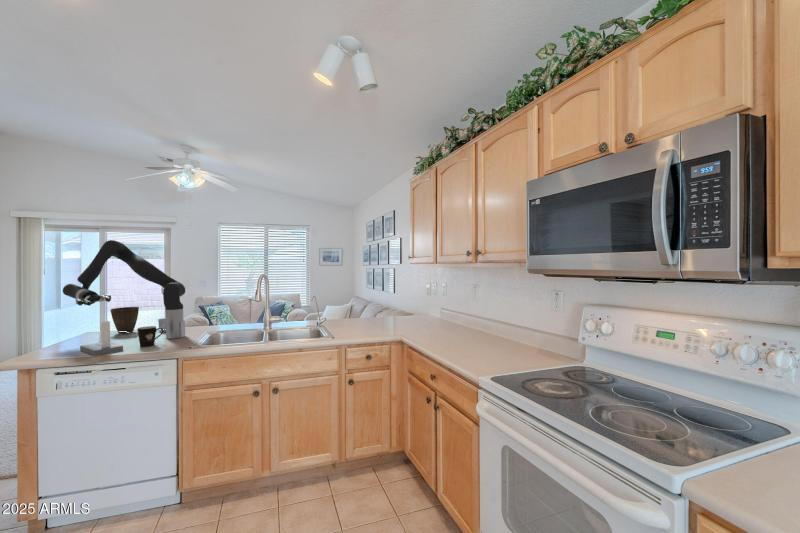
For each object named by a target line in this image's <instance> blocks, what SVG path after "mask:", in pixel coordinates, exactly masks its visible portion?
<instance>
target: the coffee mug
mask: <svg viewBox="0 0 800 533" xmlns="http://www.w3.org/2000/svg"><path fill="white" fill-rule="evenodd" d="M159 329H161V330H162V332H160V334H159V335H157V336H156V333H157V331H159ZM136 330H137V334H138V341H139V347H140V348H148V347H154V346H155V340H157V339H158V338H159V337H161V335H163V334H164V332H163V329H162V328H159V327H158V328H157V326H155V325H153V326H152V325H150V326H149V325H148V326H140V327H137V328H136Z"/></svg>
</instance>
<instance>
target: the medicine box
mask: <svg viewBox="0 0 800 533" xmlns="http://www.w3.org/2000/svg"><path fill="white" fill-rule="evenodd" d="M158 328H162V329H164V330H163V333H166V330H165V329H166V317H163V318H158ZM159 331H160V332H159ZM158 332H159V333H162V330H159V329H158Z"/></svg>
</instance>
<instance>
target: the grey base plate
mask: <svg viewBox="0 0 800 533" xmlns="http://www.w3.org/2000/svg"><path fill="white" fill-rule="evenodd" d="M79 350H80V351H81V352H84V353H85V352H86V353H85V354H88V353H89V354H88V355H91V356H94V357H95V356H102V355H107V354H112V352H113V353H118V352H123V351H124V345H122V344H119V343H114V342H112V341H110V347H105V348H102V347H101V342H96V343H89V344H84V345H83V344H82V345H80V346H79ZM117 351H118V352H117ZM106 353H107V354H106ZM101 354H102V355H101Z"/></svg>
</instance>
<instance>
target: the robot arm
mask: <svg viewBox="0 0 800 533" xmlns="http://www.w3.org/2000/svg"><path fill="white" fill-rule="evenodd" d="M112 257H113V258H117V259H119V260H121V261H122V262H124V263H125V264H126V265H128V266H129V268H130V269H131V271H133V272H134V273H135V274H137V275H138V276H139V277H141V278H142V279H144V280H147V281H148V282H152V283H154V284H156V285H159V286H160V287H162V288H163V289H162V296H163V298H162V299H163V304H164V305H163V306H164V308H165V318H166V332H165V339H180V338H181V339H182V338H184V337H185V336H186V322H185V321H186V320H185V319H184V304H183V303H182V301H181V297H182V296H184V295H185V293H186V287H185V286H184V284H183V283H182V282H180V281H178V280H177V279H174V278H173V277H170V275H167V274H166V273H165V272H164V271H162V270H161V269H159V268H158V267H156V266H155V265H154V264H153V263H151V262H150V261H148V260H147V259H144V258H143V257H141V256H139V255H137V254H136V253H135V252H134V251H132V250H131V249H130V248H128V247H127V245H125V244H124V243H123V242H120V241H117V240H115V239H108V240H107V241H105V242H104V243H103V244H102V246H101V247H100V248H99V250H98V252H97V254H96V255H95V257H94V258H93V259H92V261H91V262H90V263H89V265H88V266H87V267H86V268H85V269H84V270H83V271H82V273H81V274H80V275H79V276H78V277H77V282H79V283H80V284H81V285H82V286H79V285H77V284H74V283H68V284H66V285H64V287H63V288H62V293H63V295H65V296H67V297H69V298H72V299H75V303H76V304H77V305H78V306H83V305H84V306H92V305H93V304H96V303H100V302H107V303H109V302H111V300H112V294H109V293H104V294H98V293H97V292H96V291H93V290H92V289H90V287H91V285H92V284H93V282H94V281H95V280H96V279H97V278H98V277H99V276H100V275H101V273H102V270H103V269H104V268H103V267H104V266H105V264H106V262H107V261H108V260H109V259H111V258H112Z"/></svg>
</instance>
